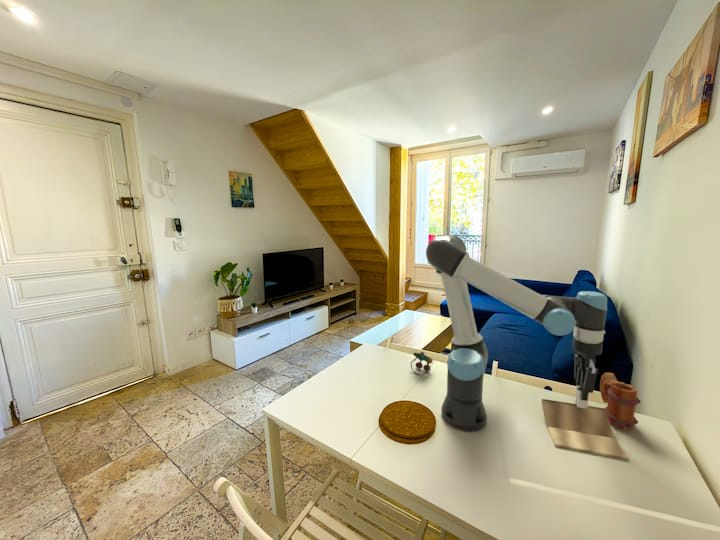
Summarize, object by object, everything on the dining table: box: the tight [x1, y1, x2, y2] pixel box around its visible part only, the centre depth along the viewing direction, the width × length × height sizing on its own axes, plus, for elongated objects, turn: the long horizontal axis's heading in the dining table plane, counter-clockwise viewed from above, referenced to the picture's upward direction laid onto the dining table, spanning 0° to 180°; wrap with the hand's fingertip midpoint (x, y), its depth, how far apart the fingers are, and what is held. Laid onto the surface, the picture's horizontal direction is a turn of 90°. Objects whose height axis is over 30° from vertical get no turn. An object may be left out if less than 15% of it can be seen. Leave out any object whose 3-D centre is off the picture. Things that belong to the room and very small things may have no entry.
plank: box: [541, 398, 615, 438], centre depth 96 cm, size 18×9×2 cm
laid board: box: [546, 426, 630, 461], centre depth 89 cm, size 18×8×2 cm, turn 71°
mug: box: [599, 372, 641, 431], centre depth 99 cm, size 15×8×15 cm, turn 168°
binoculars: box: [410, 351, 434, 375], centre depth 134 cm, size 9×9×10 cm
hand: (580, 405), depth 97 cm, fingers closed
